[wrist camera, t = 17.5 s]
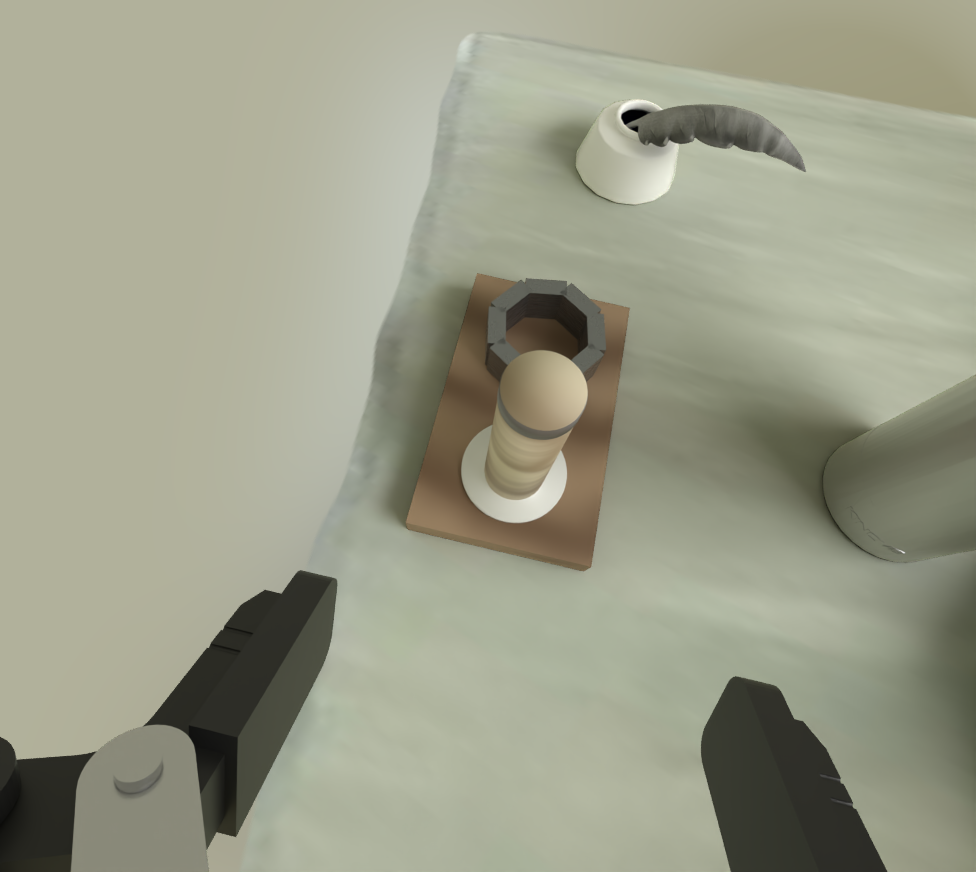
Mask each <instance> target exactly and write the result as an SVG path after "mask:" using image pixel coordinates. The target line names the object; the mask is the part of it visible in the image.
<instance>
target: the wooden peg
mask: <svg viewBox="0 0 976 872" xmlns="http://www.w3.org/2000/svg"><path fill="white" fill-rule="evenodd" d="M587 398H588V390H587V384H586V380H585V378H584V375H583V374H582V372H581V371H580V369H579V368H578V367H577V366H576V365H575V364H574V363H573V362H572V361H571V360H570V359H568V358H567V357H565V356H563V355H561V354H558V353H556V352H552V351H545V350H537V351H530V352H527V353H524V354H522V355H520V356H518V357H517V358H515V359H514V360H513V361H512V362H510V364H509V365H508V366H507V367H506V368H505V370H504V372H503V374H502V376H501V379H500V383H499V388H498V395H497V404H496V410H495V415H494V420H493V425H492V430H491V436H490V441H489V446H488V451H487V456H486V462H485V468H484V473H485V478H486V481H487V483H488V485H489V486H490V488H491V489H492V490H493V491H494V492H495V493H496V494H498V495H499V496H501V497H503V498H506V499H510V500H522V499H526V498H528V497H530V496H532V495H533V494H535V493H536V492H537V491H538V490H539V488H540V487H541V485H542V483H543V482H544V480H545V478H546V476H547V474H548V473H549V471H550V469H551V467H552V465H553V463H554V462H555V460H556V458H557V456H558V454H559V453H560V451H561V449H562V447H563V445H564V443H565V442H566V440H567V438H568V436H569V434H570V433H571V431H572V429H573V427H574V426H575V425H576V423H577V422H578V420H579V418H580V417H581V415H582V413H583V411H584V409H585V407H586V404H587Z"/></svg>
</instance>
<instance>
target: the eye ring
mask: <svg viewBox="0 0 976 872" xmlns="http://www.w3.org/2000/svg"><path fill="white" fill-rule="evenodd" d="M601 310H602V309H601V308H599V307H598V306H597V305H596V304H595V303H594V302H593V301H591V300H590V299H589V298H588V297H587V296H586V295H585V294H583V293H582V292H581V291H580V290H579V289H578V288H577V287H575V286H574V285H573V284H572V283H571V284H570V285H569V286H567V281H557V280H542V279H527V278H526V280H525V283H524V282H523V281H522V280H520V281H519V282H517V283H516V284H515V285H513V286H512V287H511V288H509V289H508V290H507V291H505V292H504V293H503V294H501V295H500V296H499V297H497V298H496V299H495V300H493V301H492V302H491V307H490V306H489V309H488V318H487V326H486V345H485V365H487V370H488V371H489V372H490V373H491V374H492V375H493V376H494V377H495V378H496V379H497V380H498V381H499V382H500V379H501V376H502V374H503V372H504V370H505V368H506V367H507V366H508V365H509V364H510V362H512V361H513V360H514V359H515V358H517V357H518V356H520V355H521V354H520V353H518V352H517V351H516V350H515V349H514V348H513V347H512V346H511V345H510V344H509V343H508V342H507V341H506V331H508V330H509V329H510V328H512V327H513V326H514V325H515V324H517V323H518V322H519V321H521V320H522V319H523V318H524V317H526V318H541V319H555V320H556V321H558V322H559V323H560V324H561V325H562V326H563V327H564V328H565V329H566V330H567V331H569V332H570V333H571V334H572V335H573V336H574V337H575V338H576V339H577V340H578V355H576V356H575V357H574V358H573V359H572V360H571V361H572V362H573V363H574V364H575V365H576V366H577V367H578V368H579V369H580V371H581V372H582V374H583V375H584V378H585V380H586V382H587V381H588V380H589V379H590V378H591V377H593V375H594V373H595V372H596V370H597V368H598V366H599V364H600V362H601V360H602V358H603V356H604V353H605V351H606V339H605V323H604V314H600V312H601Z"/></svg>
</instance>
